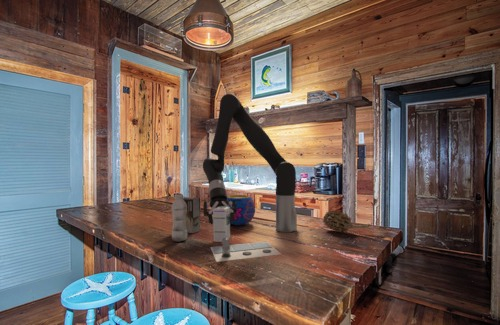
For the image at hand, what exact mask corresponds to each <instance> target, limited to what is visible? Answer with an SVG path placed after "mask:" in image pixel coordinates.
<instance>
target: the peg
mask: <svg viewBox="0 0 500 325" xmlns="http://www.w3.org/2000/svg"><path fill="white" fill-rule="evenodd" d="M221 243H222V245H221V246H222V256H223V257H229V256H230V245H231V238H223V239H222V242H221Z"/></svg>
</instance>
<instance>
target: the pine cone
mask: <svg viewBox="0 0 500 325" xmlns="http://www.w3.org/2000/svg"><path fill="white" fill-rule="evenodd" d="M322 218H323V221H322V222H323V223H324V225H325V226H326V227H328V228H329V230H332V231H335V232H340V233H342V232H343V233H345V234H346V233H347V232H348V231H349V230H351V229H352V228H353V229H360V228H361V229H367V228H368V229H369V228H370V226H371V223H367V224H358V225H357V224H354V223H352V222H351V221H352V218H351V216H348V214H347V213H344V212H341V211H340V210H333V209H332V210H329V211H326V213H324V215H323V217H322Z"/></svg>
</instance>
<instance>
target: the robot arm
mask: <svg viewBox="0 0 500 325" xmlns="http://www.w3.org/2000/svg"><path fill="white" fill-rule="evenodd" d="M219 102H220V103H219V112H218V117H217V118H218V120H217V124H216V129H215V132H214V136H213V140H212V144H211V147H210V154H213V155H215V156H217V159H216V158H211V157H207V158H204V161H203V162H202V169H203V172H204V174H205V176H206V178H207V181H208V182H207V183H208V194H209V201H210V202H207V201H203V207H202V208H203V216H204V217H207V218H208V223H209V224H210V225H213V209H215V208H217V207H229V206H228V205H230V206H231V207H232V208H233V210H232V209H231V208H230V220H231V223H233V222H234V214H236V213H237V207H236V203H235V200H232V201H231V202H229V201H228V200H227V197H228V196H227V190H226V185H225V182H224V177H223V174H222V173H223V172H224V170H225V153H226V148H227V145H228V141H229V135H230V129H231V128H230V127H231V123H232V120H233V121H234V122H235V123H236V124H237V125H238V127H239V128H240V130H241V132H242V135H243V136H244V137H245V138H246V140H247V141H248V142H249V144H250V145H251V147H252V148H253V149H254V150H255V151H256V152H257V154H259V155H260V156H261V157H262V158H263V159H264V160H265V161H266V162H267V164H268V165H269V166H270V168H271V169H272V171H273V173H274V174H275V177H276V182H275V183H276V187H275V230H276V231H277V232H280V233H292V232H295V231H297V230H298V228H297V226H298V224H297V223H298V222H297V218H298V217H297V213H298V212H297V210H296V200H295V199H296V197H295V196H296V192H295V191H296V188H297V187H296V183H297V182H296V181H297V178H296V176H297V171H296V170H297V169H296V167H295V166H294V164H292V163H291V162H290V161H289V162H288V161H287V160H286V159H285V158H284V157H283V156H282V155H281V154H280V152H278V150H277V148H276V146H275V145H274V143H273V141H272V139H271V138H270V136H269V135H268V134H267V133H266V132H265V130H264V128H262V127H261V126H260V124H259V123H258V122H257V121H256V120H255V119H254V118H252V116H250V115H249V113H248V112H247V110H246V109H245V107H244V106H243V105H242V102H241V101H240V99H239V98H238V97H237V96H236V95H235V94H233V93H226V94H224V95H223V96H222V97H221V99H220V101H219ZM209 207H210V208H211V209H210V210H209V211H208V208H209Z"/></svg>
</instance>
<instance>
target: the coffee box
mask: <svg viewBox="0 0 500 325" xmlns="http://www.w3.org/2000/svg"><path fill="white" fill-rule="evenodd" d="M183 200H184V201H185V203H186V205H187V211H186V229H187V234H195V233H198V232H200V231H201V198H200V197H191V196H190V197H189V196H184V198H183Z"/></svg>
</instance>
